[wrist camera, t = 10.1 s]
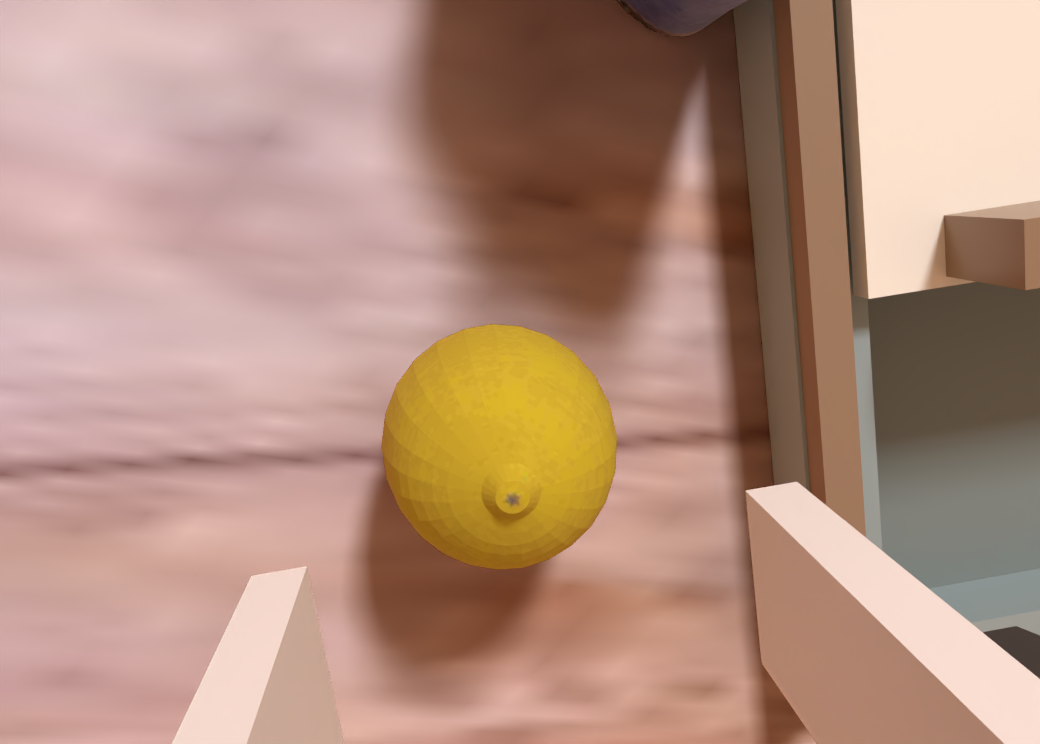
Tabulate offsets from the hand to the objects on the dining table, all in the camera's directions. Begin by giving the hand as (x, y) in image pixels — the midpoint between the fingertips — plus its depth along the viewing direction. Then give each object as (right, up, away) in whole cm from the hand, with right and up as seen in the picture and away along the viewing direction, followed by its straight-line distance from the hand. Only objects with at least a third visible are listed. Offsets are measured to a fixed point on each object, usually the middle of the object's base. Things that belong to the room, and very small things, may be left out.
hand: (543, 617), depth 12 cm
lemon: (-1, +3, +13) cm, 13 cm away
